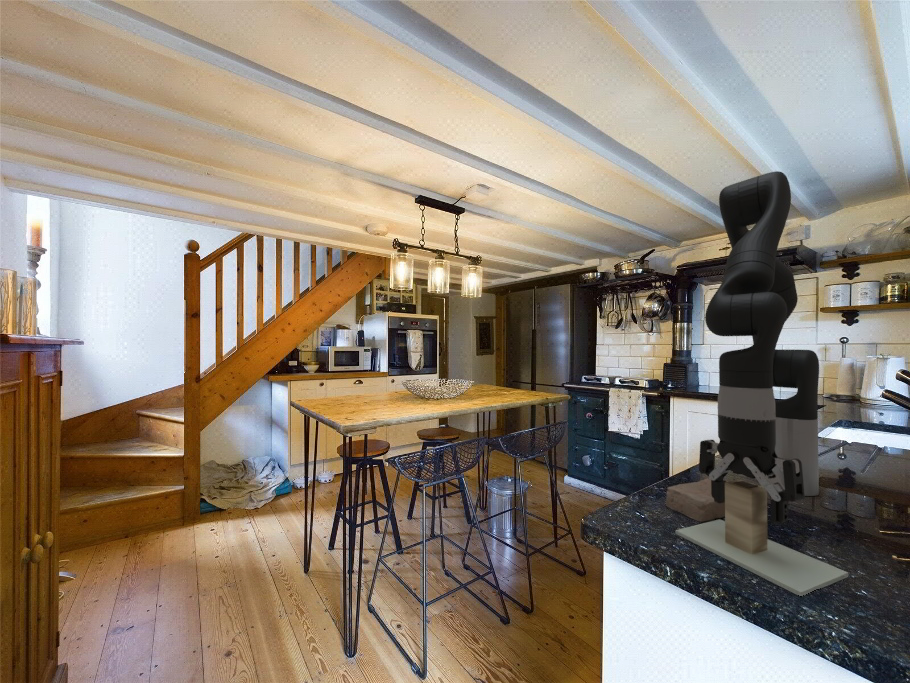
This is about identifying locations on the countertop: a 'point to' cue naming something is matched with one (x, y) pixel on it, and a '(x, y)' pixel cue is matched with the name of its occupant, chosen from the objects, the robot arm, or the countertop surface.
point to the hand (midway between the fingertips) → (746, 512)
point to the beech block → (746, 516)
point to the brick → (695, 501)
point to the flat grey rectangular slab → (767, 560)
